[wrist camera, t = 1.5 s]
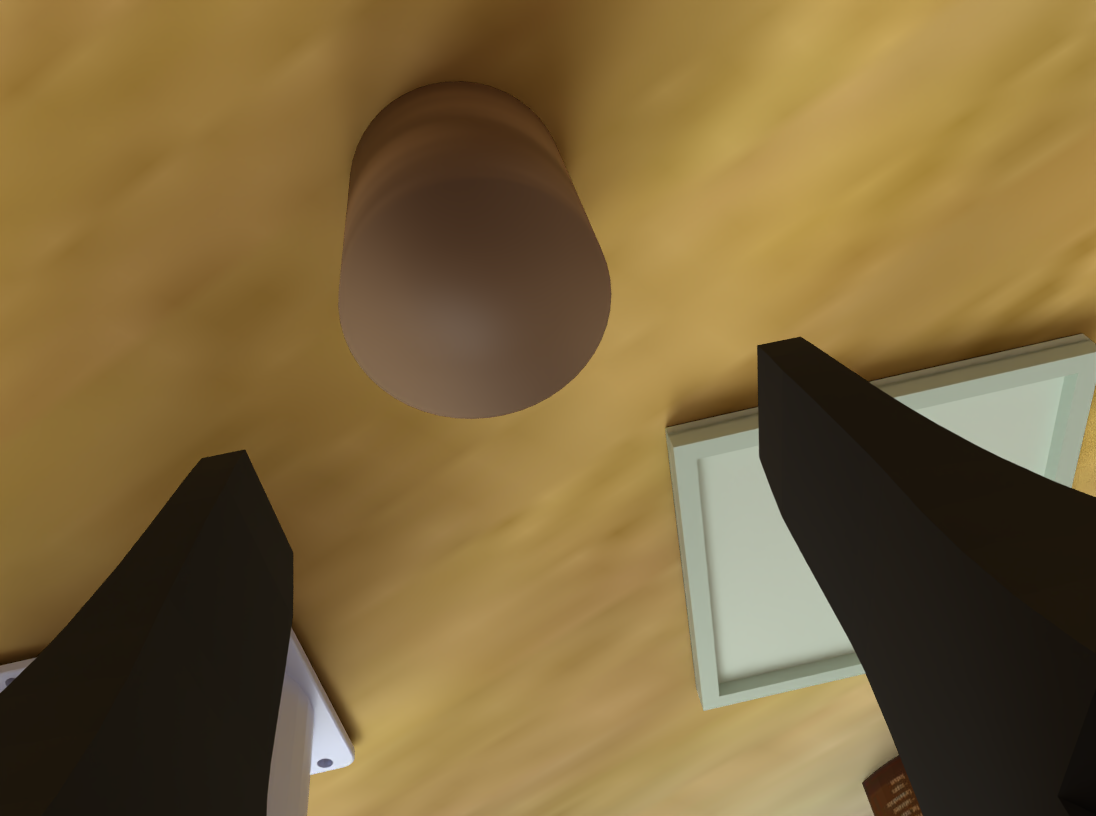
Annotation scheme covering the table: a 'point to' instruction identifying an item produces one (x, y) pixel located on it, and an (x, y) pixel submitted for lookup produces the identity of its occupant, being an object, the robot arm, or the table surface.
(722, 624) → the coaster
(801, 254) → the table surface
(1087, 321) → the table surface
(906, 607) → the robot arm
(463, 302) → the walnut cylinder
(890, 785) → the food container
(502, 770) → the table surface
